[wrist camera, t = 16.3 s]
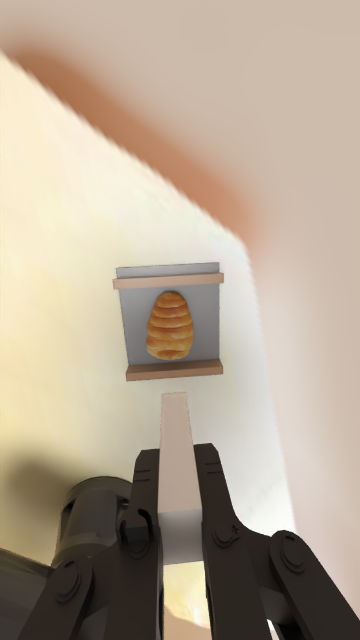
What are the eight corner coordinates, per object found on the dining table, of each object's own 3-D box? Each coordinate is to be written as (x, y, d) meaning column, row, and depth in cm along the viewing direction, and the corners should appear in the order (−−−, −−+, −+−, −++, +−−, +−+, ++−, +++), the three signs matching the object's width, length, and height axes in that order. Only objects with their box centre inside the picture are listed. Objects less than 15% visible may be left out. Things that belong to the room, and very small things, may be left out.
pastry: (146, 289, 29) (144, 293, 26) (195, 291, 30) (199, 295, 26) (147, 351, 32) (144, 363, 28) (191, 352, 32) (194, 363, 29)
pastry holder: (131, 377, 34) (127, 389, 31) (116, 268, 29) (111, 269, 26) (218, 371, 34) (222, 381, 31) (218, 262, 29) (223, 262, 26)
